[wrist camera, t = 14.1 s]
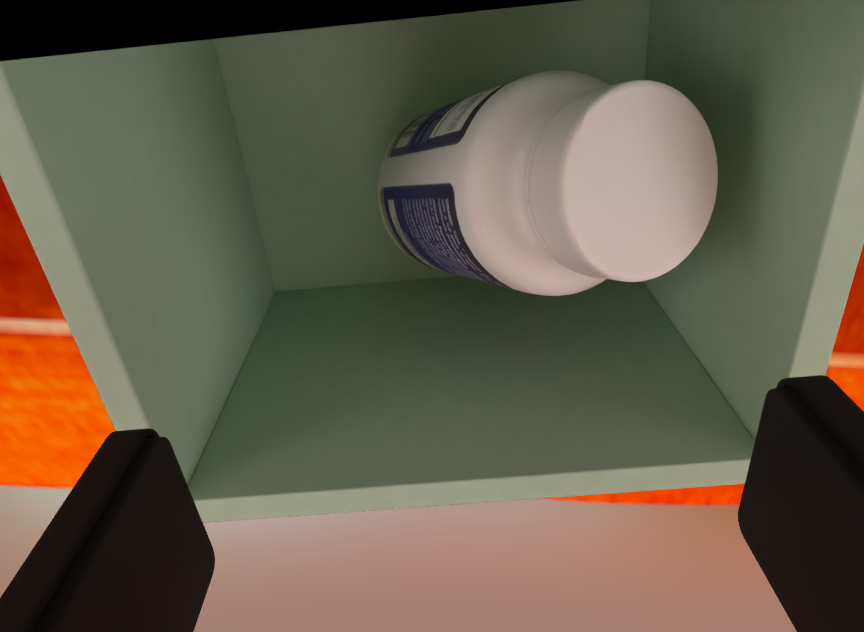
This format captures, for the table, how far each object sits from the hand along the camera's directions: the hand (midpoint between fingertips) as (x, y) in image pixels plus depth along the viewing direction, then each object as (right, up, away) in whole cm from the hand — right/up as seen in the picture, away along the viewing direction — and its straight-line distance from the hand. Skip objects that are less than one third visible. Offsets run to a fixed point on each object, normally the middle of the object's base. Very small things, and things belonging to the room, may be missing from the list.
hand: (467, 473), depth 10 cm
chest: (0, +9, +12) cm, 15 cm away
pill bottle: (0, +7, +11) cm, 13 cm away
